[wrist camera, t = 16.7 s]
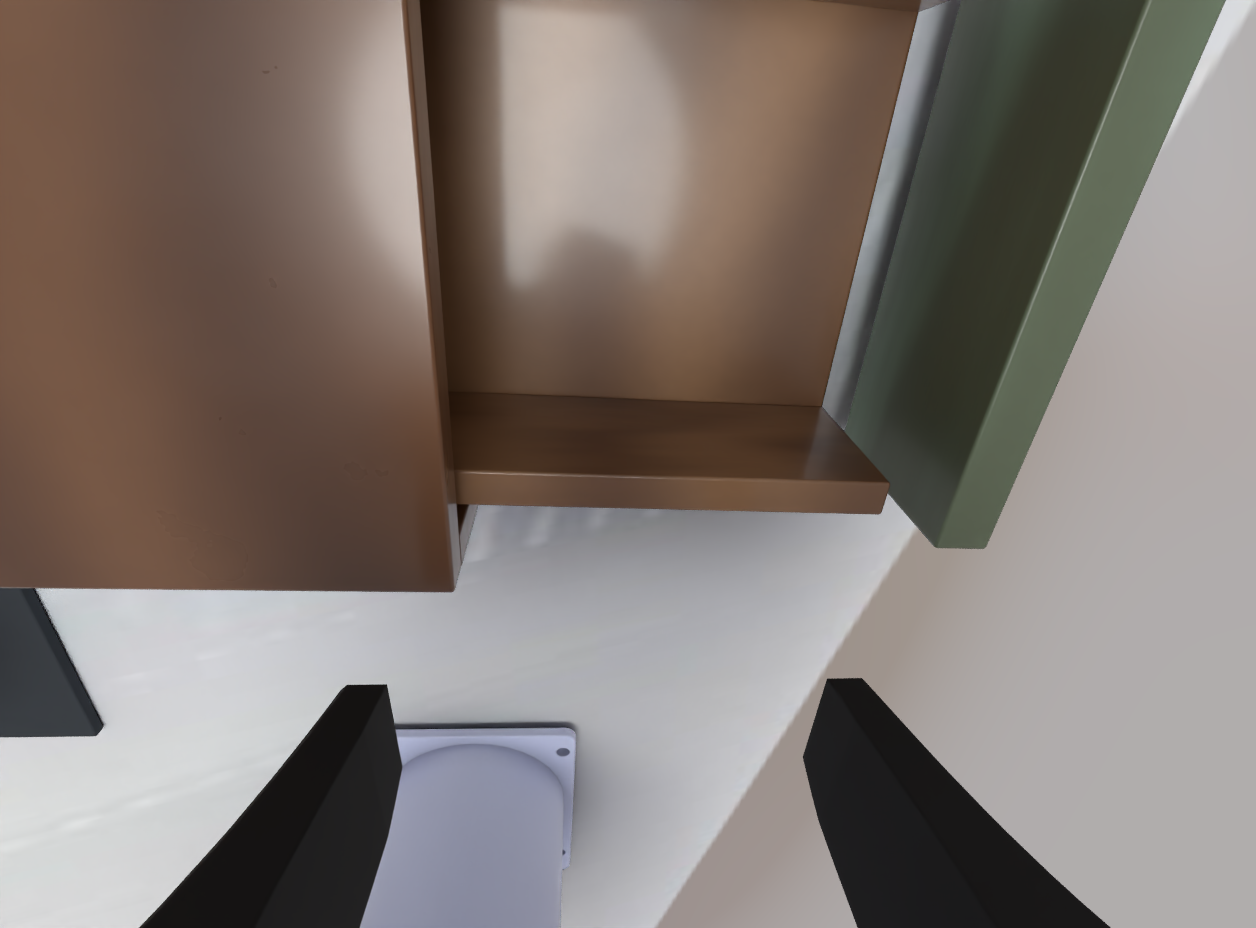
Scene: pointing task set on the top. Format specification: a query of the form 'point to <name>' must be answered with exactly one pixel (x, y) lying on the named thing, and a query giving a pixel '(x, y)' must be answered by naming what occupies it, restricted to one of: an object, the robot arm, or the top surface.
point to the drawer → (776, 242)
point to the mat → (38, 675)
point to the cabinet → (221, 300)
